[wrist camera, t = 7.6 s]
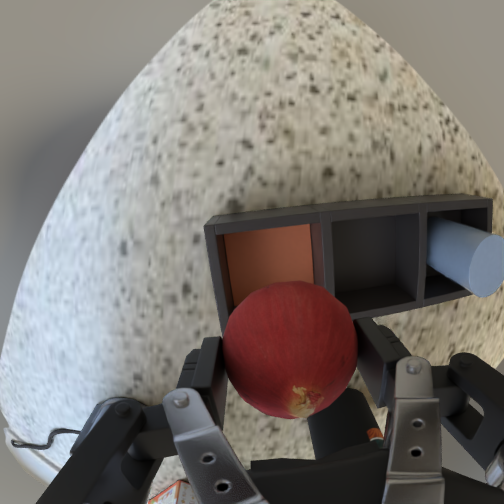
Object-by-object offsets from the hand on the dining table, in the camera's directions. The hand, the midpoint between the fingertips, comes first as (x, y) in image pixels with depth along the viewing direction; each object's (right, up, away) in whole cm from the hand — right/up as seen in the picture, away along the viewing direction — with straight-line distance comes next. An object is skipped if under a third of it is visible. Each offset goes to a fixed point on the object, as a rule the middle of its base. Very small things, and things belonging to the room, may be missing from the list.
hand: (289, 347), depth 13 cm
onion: (0, +1, +4) cm, 4 cm away
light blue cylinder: (+17, +5, +14) cm, 22 cm away
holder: (+8, +4, +14) cm, 17 cm away
